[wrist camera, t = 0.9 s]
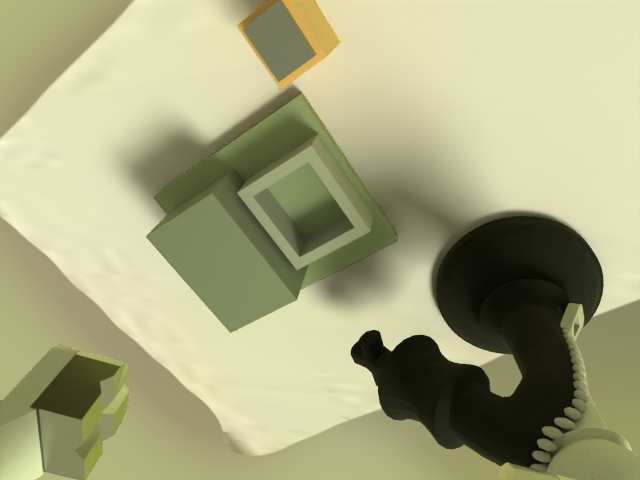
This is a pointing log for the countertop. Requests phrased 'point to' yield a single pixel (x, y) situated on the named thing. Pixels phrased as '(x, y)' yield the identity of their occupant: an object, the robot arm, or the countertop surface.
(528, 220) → the sculpture
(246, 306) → the green plate with frame
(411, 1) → the countertop surface
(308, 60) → the yellow box green face
